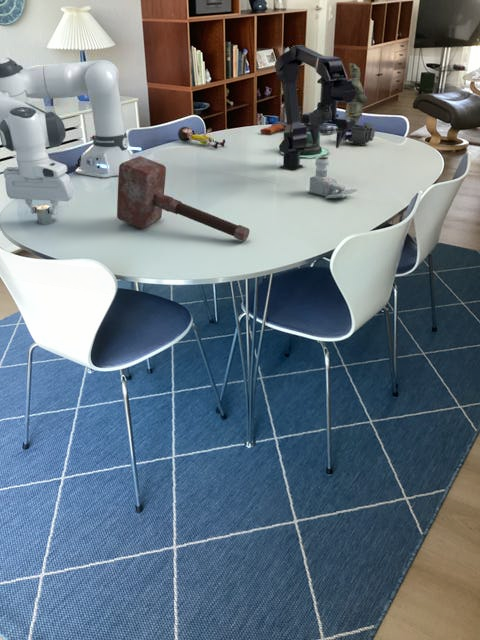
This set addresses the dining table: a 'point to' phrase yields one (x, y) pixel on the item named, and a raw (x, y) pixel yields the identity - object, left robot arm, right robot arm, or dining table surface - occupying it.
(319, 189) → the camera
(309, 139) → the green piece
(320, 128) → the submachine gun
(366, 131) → the toy
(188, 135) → the figurine
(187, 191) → the dining table surface
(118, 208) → the sledgehammer
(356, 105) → the statue
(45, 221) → the can
